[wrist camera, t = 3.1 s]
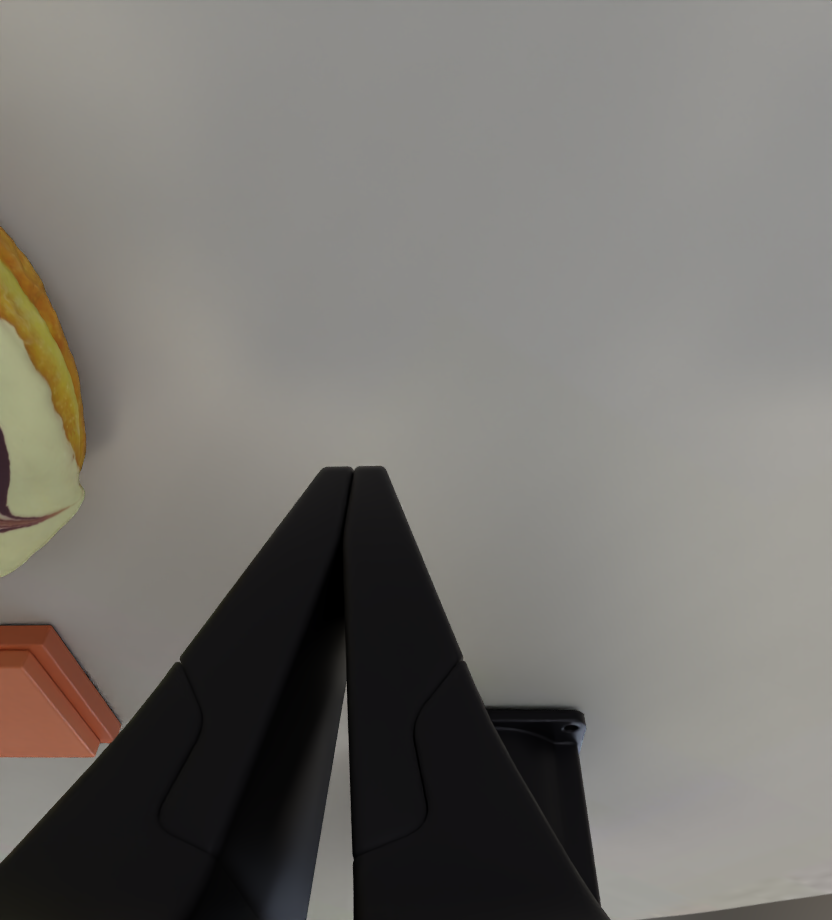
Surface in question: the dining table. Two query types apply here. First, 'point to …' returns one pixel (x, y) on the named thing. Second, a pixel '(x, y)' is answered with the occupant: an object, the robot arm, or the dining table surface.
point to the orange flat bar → (48, 698)
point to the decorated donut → (35, 415)
